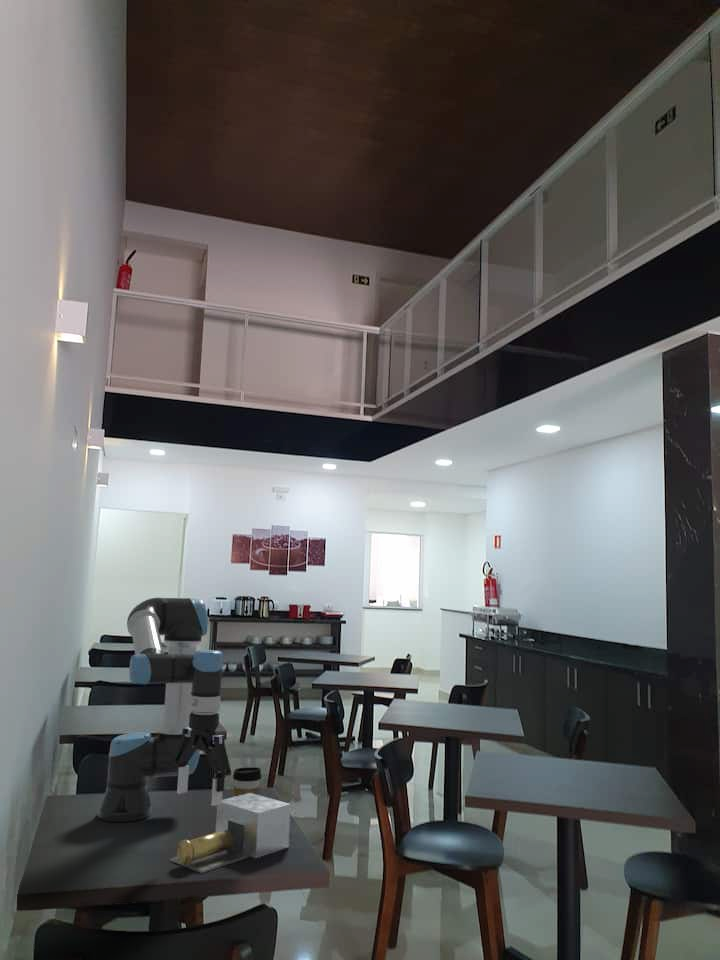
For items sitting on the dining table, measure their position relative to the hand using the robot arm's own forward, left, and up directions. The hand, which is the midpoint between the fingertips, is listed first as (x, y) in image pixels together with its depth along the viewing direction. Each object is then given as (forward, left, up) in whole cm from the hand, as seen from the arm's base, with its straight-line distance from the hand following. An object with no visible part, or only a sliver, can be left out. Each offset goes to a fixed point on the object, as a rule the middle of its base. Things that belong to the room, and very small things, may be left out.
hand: (198, 798), depth 187 cm
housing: (0, +11, -15) cm, 19 cm away
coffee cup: (-17, +32, -16) cm, 39 cm away
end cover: (0, +3, -15) cm, 15 cm away
